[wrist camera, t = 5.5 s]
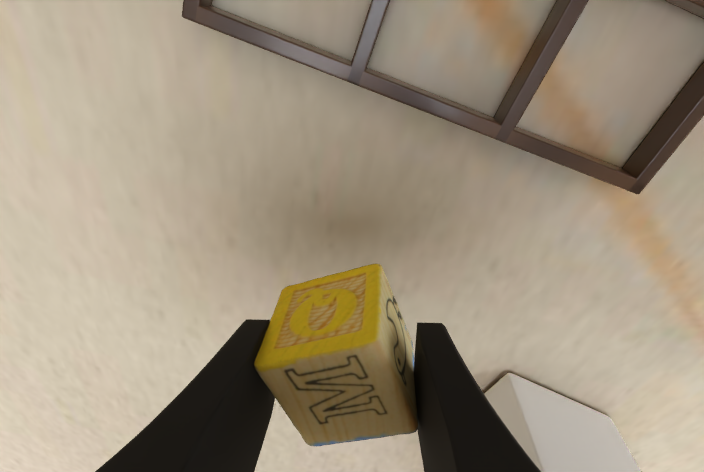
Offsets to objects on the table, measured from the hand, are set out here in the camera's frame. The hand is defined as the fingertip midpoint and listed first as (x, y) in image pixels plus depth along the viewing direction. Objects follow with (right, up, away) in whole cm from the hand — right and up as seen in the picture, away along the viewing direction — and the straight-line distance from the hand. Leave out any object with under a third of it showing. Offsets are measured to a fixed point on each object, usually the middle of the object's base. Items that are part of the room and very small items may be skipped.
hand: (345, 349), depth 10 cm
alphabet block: (0, +1, +1) cm, 2 cm away
